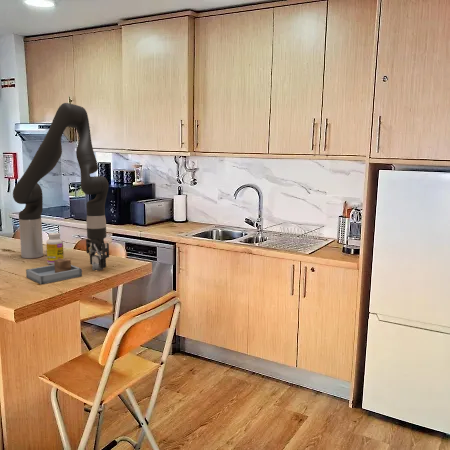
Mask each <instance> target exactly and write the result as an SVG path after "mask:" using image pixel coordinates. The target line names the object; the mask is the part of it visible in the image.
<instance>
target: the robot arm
mask: <svg viewBox="0 0 450 450" xmlns="http://www.w3.org/2000/svg"><path fill="white" fill-rule="evenodd" d="M89 120H90V119H89V116H88V112H87V110H86V108H84V107H83V106H80V105H77V104H73V103H69V102H64V103H62V104H61V105H60V106H59V107H58V108H57V110H56V113H55V114H54V117H53V119H52V122H51V123H50V127H49V129H48V131H47V132H46V135H45V136H44V138H43V141H42V142H41V144H40V145H39V147H38V149H37V150H36V152H35V154H34V156H33V158H32V160H31V162H30V163H29V165H28V166H27V168H26V170H25V171H24V173H23V174H22V176H21V177H20V178H19V180H18V181H17V182H16V184H15V186H14V188H13V191H12V198H13V200H14V202H15V203H17V204H19V205H25V207H24V209H22V210H21V211H19V212H18V225H19V240H20V255H21V258H23V259H37V258H41V257H43V256H44V243H43V242H44V241H43V228H42V214H43V207H44V206H43V204H44V203H43V201H44V200H43V198H44V197H43V188H42V187H41V185H40V184H39V183H38V182H39V181H40V180H42V179H43V178H44V177H45V176H47V175H48V174H50V172H51V171H53V169H54V168H55V167H56V166H57V164H58V162H59V160H60V158H61V157H62V154H63V148H62V147H63V145H62V136H63V134H64V132H65V130H66V129H67V128H68V127H69V128H74V129H75V130H76V132H77V134H78V142H77V143H78V144H77V145H76V151H75V153H76V155H75V156H76V160H77V164H78V167H79V170H80V188H81V191H82V192H83V193H84V194H85V195H96V196H95V198H94V199H91V200H88V201H87V202H86V237H87V239H85V247H86V249H85V250H86V253H87V254H88V256H89V262H90V263H89V264H90V265H91V266H92V256H93V255H99V257H100V268H104V269H106V268H107V259H108V258H110V243H109V242H105V241H104V239H106V238H107V220H106V219H107V218H106V209H105V206H106V201H107V197H108V193H109V185H110V184H109V182H108V179H107V178H106V176H102V175H97V176H91V174H94V173H96V172H97V171H98V170H99V164H98V160H97V158H96V155H95V152H94V148H93V144H92V135H91V129H90V128H91V127H90V121H89Z"/></svg>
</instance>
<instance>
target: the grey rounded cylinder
mask: <svg viewBox="0 0 450 450" xmlns="http://www.w3.org/2000/svg"><path fill="white" fill-rule="evenodd" d="M91 266H92V267H91V269H92V271H95V270H97V271H98V272H99V271H103V270H104V269H105V268H100V257H99V255H98V254H95V255H93V256H92V265H91ZM97 271H96V272H97Z"/></svg>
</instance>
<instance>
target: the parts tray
mask: <svg viewBox="0 0 450 450" xmlns="http://www.w3.org/2000/svg"><path fill="white" fill-rule="evenodd" d="M25 276H26V278H27V279H29V280H30V281H33V282H35V283H37V284H39V285H46V284H51V283H55V282H61V281H65V280H70V279H76V278H81V277H83V270H82V268H81V267H79V266H76V265H74V264H71V270H68V271H63V272H58V273H55V265H52V264H49V265H44V266H39V267H34V268H28V269H25Z"/></svg>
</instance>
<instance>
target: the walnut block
mask: <svg viewBox="0 0 450 450" xmlns="http://www.w3.org/2000/svg"><path fill="white" fill-rule="evenodd" d="M54 264H55V273H58V272H63V271H68V270H71V265H72V259H69V258H65V257H64V258H63V259H57V260H54Z"/></svg>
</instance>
